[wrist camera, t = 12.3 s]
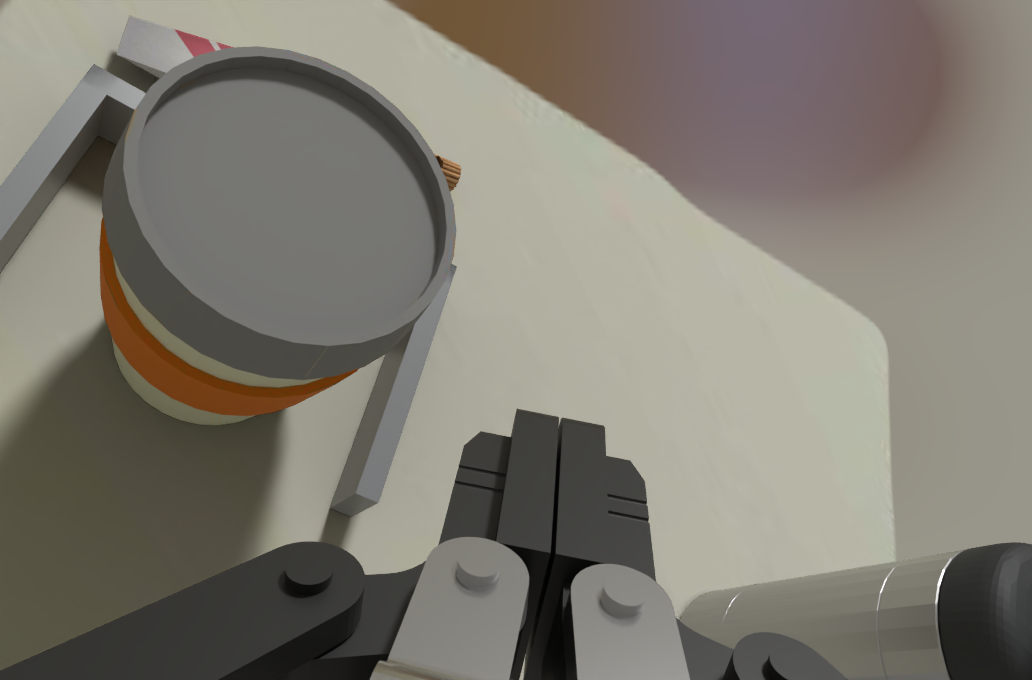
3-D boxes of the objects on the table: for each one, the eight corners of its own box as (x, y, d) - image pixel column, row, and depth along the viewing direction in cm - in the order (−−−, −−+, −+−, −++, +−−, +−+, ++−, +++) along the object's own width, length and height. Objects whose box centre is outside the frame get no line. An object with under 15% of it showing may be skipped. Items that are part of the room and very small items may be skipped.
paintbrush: (138, -12, 42) (467, 145, 52) (127, 22, 44) (446, 167, 54) (118, 43, 41) (462, 194, 50) (108, 75, 43) (440, 214, 52)
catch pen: (351, 516, 41) (378, 502, 39) (-86, 337, 34) (-90, 304, 31) (429, 291, 49) (456, 266, 46) (85, 106, 42) (93, 64, 39)
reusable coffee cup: (229, 189, 44) (323, 2, 33) (376, 368, 45) (518, 248, 33) (4, 302, 36) (22, 108, 25) (187, 517, 37) (287, 427, 26)
